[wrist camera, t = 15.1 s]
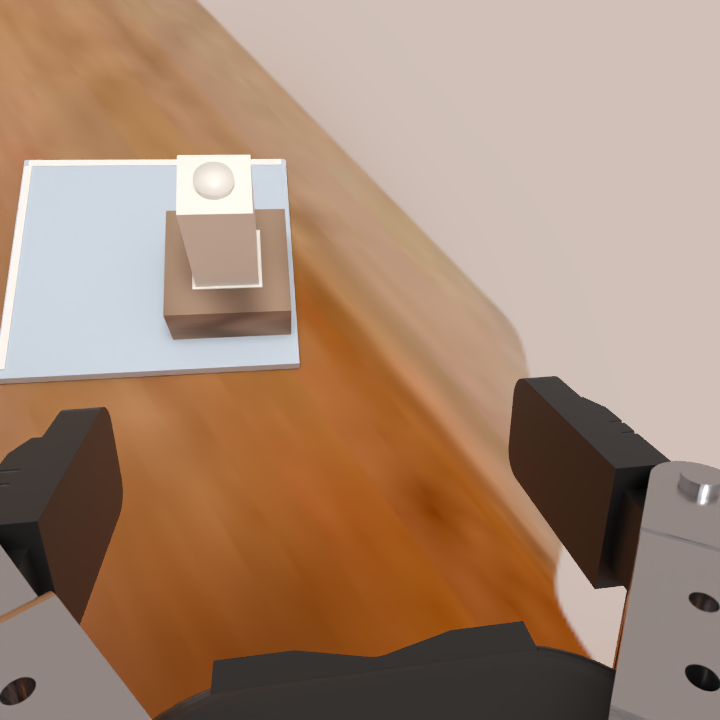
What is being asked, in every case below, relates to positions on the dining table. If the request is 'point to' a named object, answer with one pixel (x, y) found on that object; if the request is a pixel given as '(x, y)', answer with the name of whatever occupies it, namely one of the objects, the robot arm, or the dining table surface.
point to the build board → (137, 279)
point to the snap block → (218, 218)
